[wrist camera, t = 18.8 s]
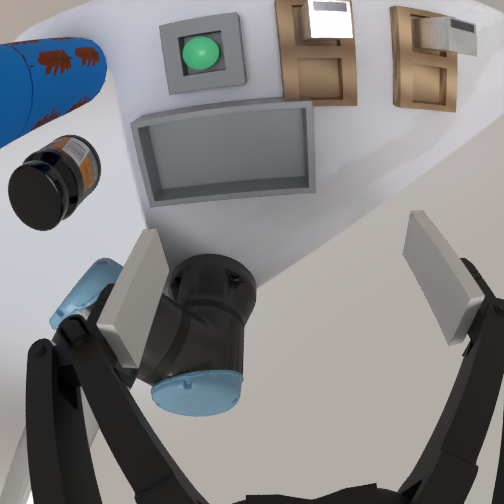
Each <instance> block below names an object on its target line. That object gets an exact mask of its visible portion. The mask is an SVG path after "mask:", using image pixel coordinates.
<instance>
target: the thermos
mask: <svg viewBox="0 0 504 504" xmlns="http://www.w3.org/2000/svg"><path fill="white" fill-rule="evenodd" d="M106 71H107V66H106V59H105V56H104V54H103V52H102V50H101V48H100V47H99V46H98V45H97V44H95V43H94V42H93V41H91V40H87V39H83V38H71V37H64V38H49V39H38V40H29V41H21V42H14V43H8V44H1V45H0V148H2V147H4V146H5V145H7V144H9V143H11V142H12V141H14V140H16V139H18V138H20V137H21V136H23V135H25V134H27V133H29V132H30V131H32V130H34V129H36V128H38V127H40V126H42V125H44V124H46V123H48V122H50V121H52V120H54V119H56V118H58V117H60V116H63V115H65V114H67V113H69V112H71V111H72V110H74V109H76V108H78V107H80V106H82V105H84V104H86V103H88V102H89V101H91V100H92V99H93V98H94V97H95V96H96V95H97V94H98V93H99V92H100V90H101V88H102V85H103V84H104V82H105V77H106Z"/></svg>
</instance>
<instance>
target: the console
mask: <svg viewBox="0 0 504 504" xmlns="http://www.w3.org/2000/svg"><path fill="white" fill-rule="evenodd" d="M159 29H160V36H161V43H162V50H163V57H164V64H165V70H166V76H167V83H168V89H169V95H172V94H178V93H184V92H190V91H196V90H202V89H209V88H217V87H224V86H233V85H242V84H246V72H245V63H244V55H243V46H242V37H241V29H240V20H239V15H238V14H237V12H236V13H227V14H220V15H213V16H207V17H201V18H195V19H189V20H184V21H179V22H174V23H170V24H165V25H161V26H159ZM196 37H206V38H210V39H213V40H214V41H216V42H217V43H218V44H219V46H220V48H221V56H220V59H219V61H218V62H217V63H216V64H215V65H213V66H212V67H209V68H206V69H201V70H198V69H193V68H191V67H189V66H188V65H187V64H186V63H185V61H184V59H183V49H184V46H185V45H186V44H187V42H188V41H190V40H191V39H193V38H196Z"/></svg>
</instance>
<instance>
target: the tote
mask: <svg viewBox="0 0 504 504" xmlns="http://www.w3.org/2000/svg"><path fill="white" fill-rule="evenodd" d="M130 124H131V129H132V133H133V138H134V142H135V147H136V151H137V155H138V159H139V164H140V168H141V172H142V176H143V180H144V184H145V188H146V191H147V195H148V199H149V203H150V206H151V207H159V206H167V205H176V204H185V203H195V202H205V201H215V200H226V199H237V198H249V197H261V196H275V195H289V194H305V193H315V153H314V125H313V104H312V100H311V99H310V98H309V97H308V96H306V97H300V99H288V100H285V98H284V97H275V98H262V99H250V100H240V101H231V102H222V103H214V104H207V105H200V106H193V107H187V108H181V109H175V110H169V111H164V112H159V113H153V114H148V115H144V116H141V117H139V118H138V119H136V120H135V121H133V122H132V123H130Z"/></svg>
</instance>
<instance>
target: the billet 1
mask: <svg viewBox="0 0 504 504" xmlns="http://www.w3.org/2000/svg"><path fill="white" fill-rule="evenodd" d="M296 13H297V22H298V32H299V41H334V40H342V39H350V38H353V33H352V21H351V10H350V1H337V0H307V1H306V2H305V4H304V5H303V6H302V7H301V8H300V9H299V10H298V11H297V12H296Z"/></svg>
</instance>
